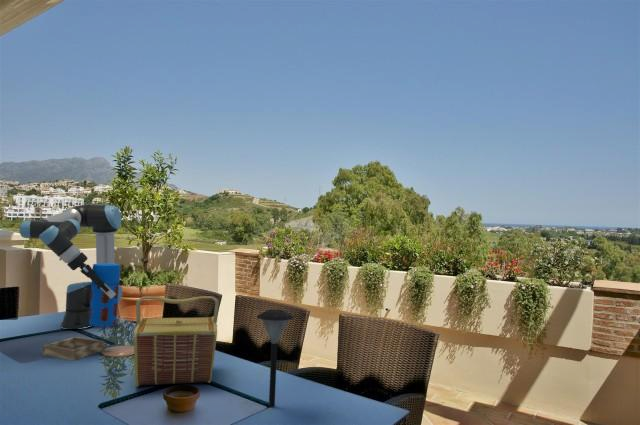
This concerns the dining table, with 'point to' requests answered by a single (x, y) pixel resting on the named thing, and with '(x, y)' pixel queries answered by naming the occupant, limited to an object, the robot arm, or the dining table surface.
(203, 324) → the picnic basket
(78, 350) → the square frame
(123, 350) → the saucer
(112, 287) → the thermos
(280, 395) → the dining table surface
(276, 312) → the solar garden light
